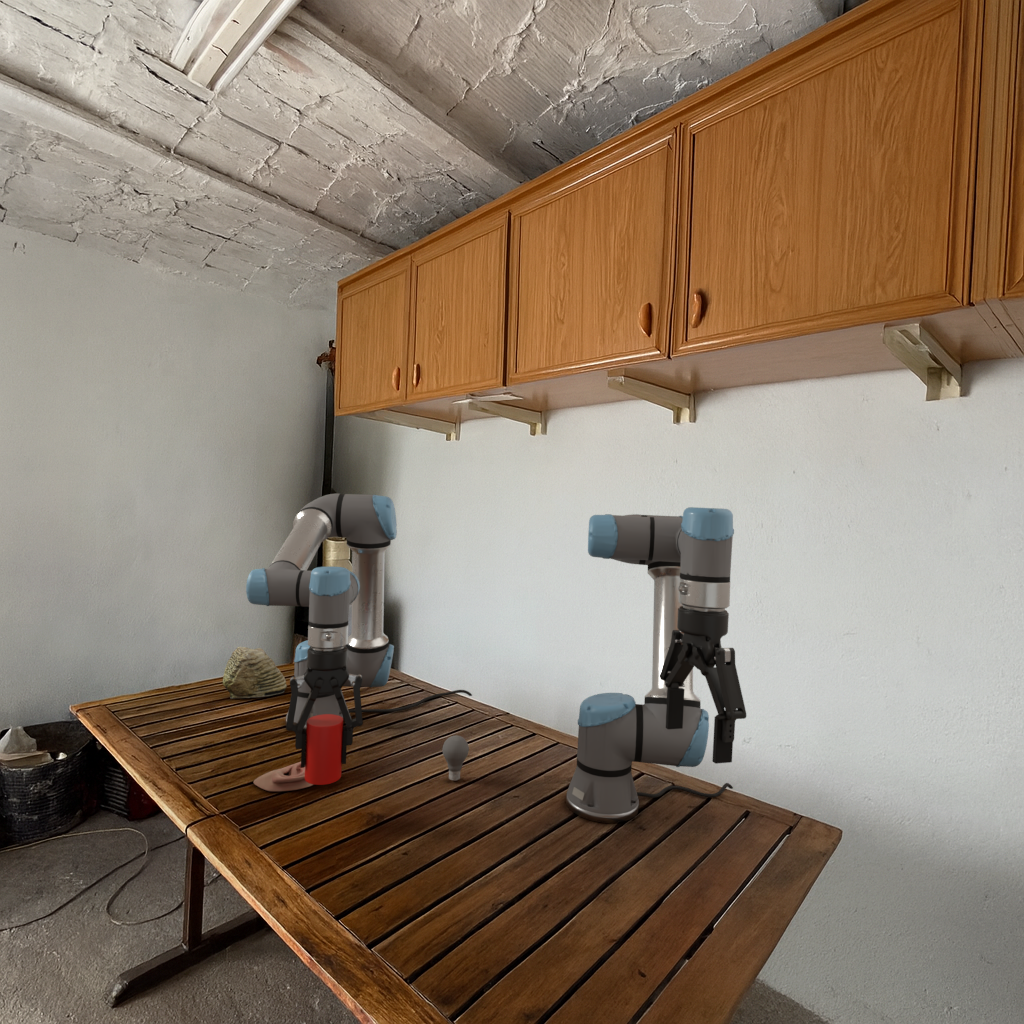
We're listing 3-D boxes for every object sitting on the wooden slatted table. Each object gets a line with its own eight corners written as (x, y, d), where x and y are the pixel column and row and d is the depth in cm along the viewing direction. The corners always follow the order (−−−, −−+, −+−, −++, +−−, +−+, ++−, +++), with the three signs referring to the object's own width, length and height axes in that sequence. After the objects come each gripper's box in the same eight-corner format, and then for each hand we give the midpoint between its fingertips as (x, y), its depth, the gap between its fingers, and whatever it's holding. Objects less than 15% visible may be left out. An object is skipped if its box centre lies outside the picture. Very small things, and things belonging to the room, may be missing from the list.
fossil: (218, 695, 195) (220, 647, 195) (278, 685, 208) (279, 640, 207) (228, 703, 189) (230, 653, 188) (289, 692, 201) (290, 645, 201)
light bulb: (441, 773, 147) (443, 731, 147) (467, 774, 147) (469, 731, 147) (440, 785, 141) (442, 741, 141) (467, 785, 141) (469, 741, 141)
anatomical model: (245, 769, 136) (276, 749, 147) (245, 787, 136) (275, 766, 147) (302, 777, 133) (328, 756, 144) (301, 796, 133) (328, 773, 144)
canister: (317, 767, 129) (319, 712, 128) (348, 772, 127) (350, 717, 126) (297, 781, 122) (299, 723, 122) (328, 787, 120) (330, 728, 120)
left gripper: (272, 653, 117) (268, 775, 118) (381, 649, 123) (376, 766, 124) (274, 643, 124) (270, 758, 125) (377, 640, 130) (373, 751, 131)
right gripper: (643, 594, 109) (637, 717, 109) (730, 623, 85) (722, 781, 85) (682, 594, 111) (676, 715, 111) (778, 623, 87) (770, 777, 87)
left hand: (323, 762), depth 124 cm, fingers closed on canister, 7 cm apart
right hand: (696, 744), depth 98 cm, fingers open, 13 cm apart
